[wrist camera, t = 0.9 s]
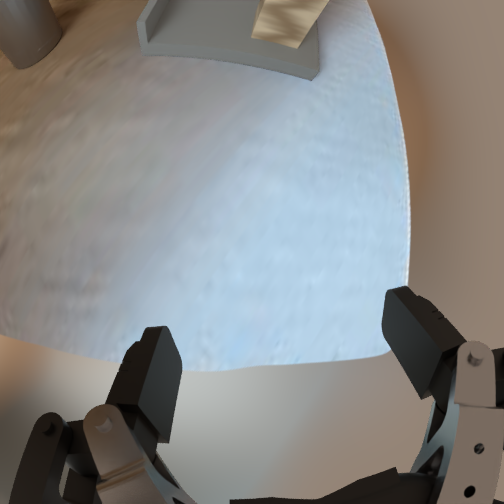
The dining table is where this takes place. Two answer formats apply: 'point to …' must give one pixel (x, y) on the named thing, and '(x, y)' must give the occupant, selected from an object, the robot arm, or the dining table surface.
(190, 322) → the dining table surface
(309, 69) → the trap deck
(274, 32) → the maple block
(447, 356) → the robot arm
